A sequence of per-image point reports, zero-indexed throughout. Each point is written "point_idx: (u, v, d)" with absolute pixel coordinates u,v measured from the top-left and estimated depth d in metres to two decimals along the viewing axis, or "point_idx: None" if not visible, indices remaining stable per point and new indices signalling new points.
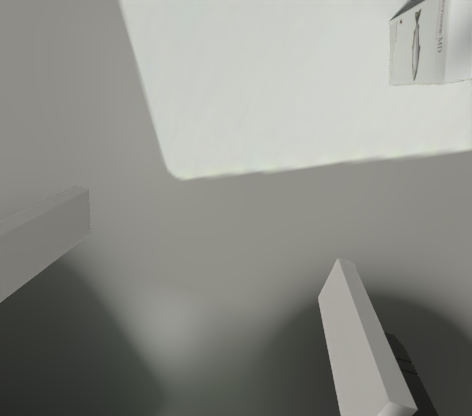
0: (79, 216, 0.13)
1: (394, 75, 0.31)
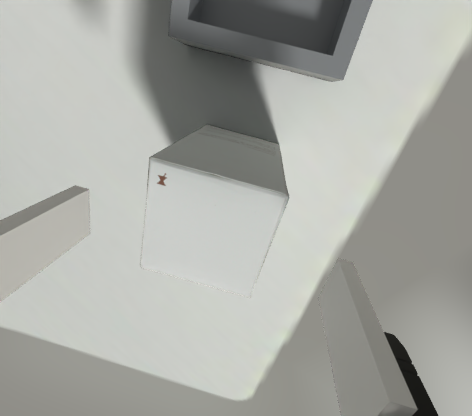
0: (79, 216, 0.13)
1: None
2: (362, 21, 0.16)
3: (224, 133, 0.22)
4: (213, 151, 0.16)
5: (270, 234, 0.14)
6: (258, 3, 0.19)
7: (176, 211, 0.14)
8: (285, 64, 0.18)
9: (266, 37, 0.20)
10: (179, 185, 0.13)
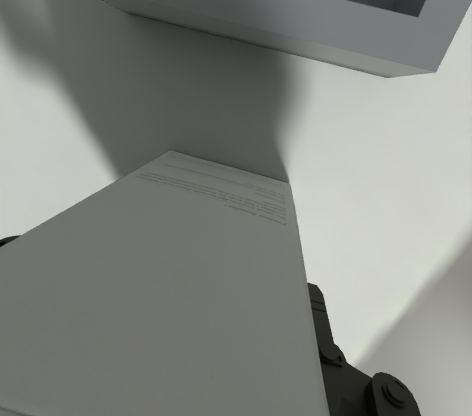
0: None
1: None
2: None
3: (194, 170, 0.12)
4: (137, 245, 0.07)
5: None
6: None
7: None
8: (309, 38, 0.08)
9: None
10: None
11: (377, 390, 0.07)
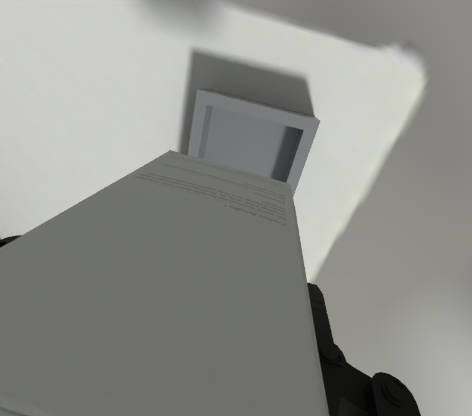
0: None
1: None
2: None
3: (194, 170, 0.12)
4: (136, 245, 0.07)
5: None
6: None
7: None
8: None
9: None
10: None
11: (377, 390, 0.07)
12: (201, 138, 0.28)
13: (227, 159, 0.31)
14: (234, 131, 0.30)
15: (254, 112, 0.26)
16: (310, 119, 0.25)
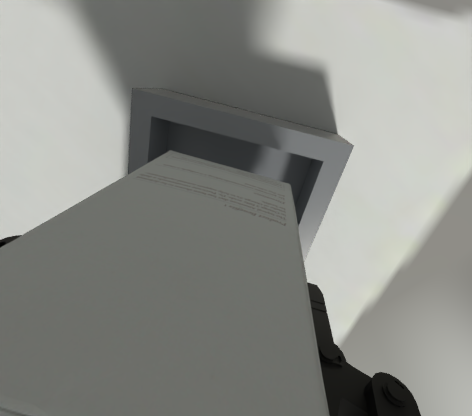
0: None
1: None
2: None
3: (194, 170, 0.12)
4: (136, 246, 0.07)
5: None
6: None
7: None
8: None
9: None
10: None
11: (377, 390, 0.07)
12: None
13: None
14: (207, 157, 0.18)
15: (235, 129, 0.14)
16: (336, 143, 0.14)
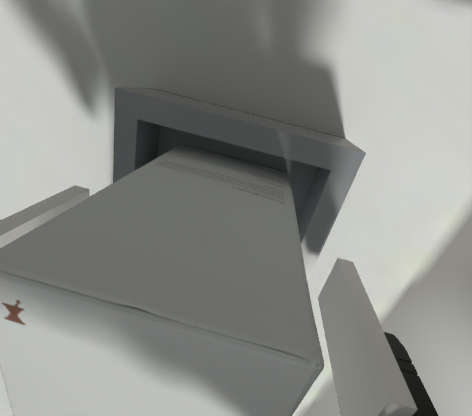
0: None
1: None
2: None
3: (203, 160, 0.14)
4: (166, 212, 0.08)
5: None
6: None
7: (62, 372, 0.06)
8: None
9: None
10: (55, 326, 0.05)
11: None
12: None
13: None
14: None
15: (231, 134, 0.13)
16: (345, 150, 0.12)
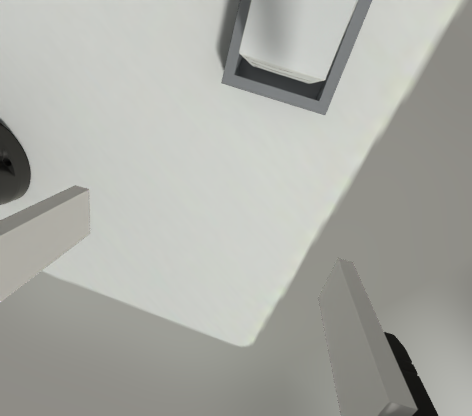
0: (79, 216, 0.13)
1: None
2: (336, 83, 0.28)
3: None
4: None
5: (351, 7, 0.18)
6: None
7: None
8: (291, 104, 0.30)
9: (280, 84, 0.32)
10: None
11: None
12: None
13: None
14: None
15: None
16: None
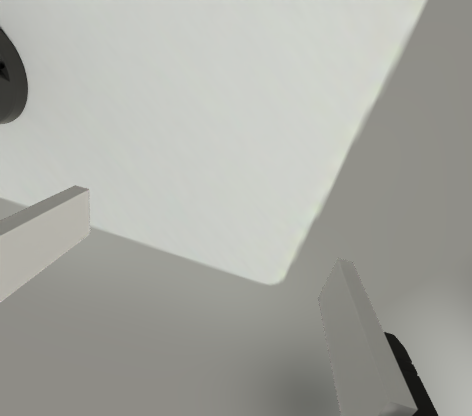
0: (79, 216, 0.13)
1: None
2: None
3: None
4: None
5: None
6: None
7: None
8: None
9: None
10: None
11: None
12: None
13: None
14: None
15: None
16: None
